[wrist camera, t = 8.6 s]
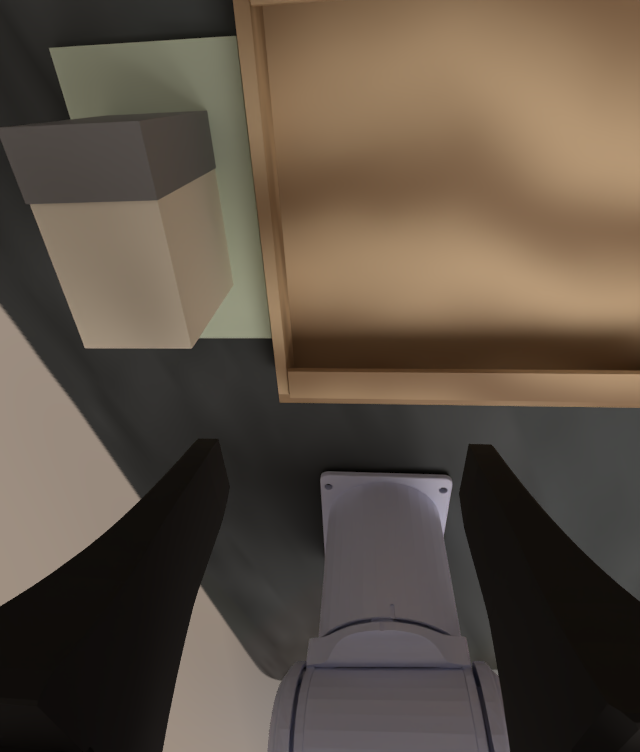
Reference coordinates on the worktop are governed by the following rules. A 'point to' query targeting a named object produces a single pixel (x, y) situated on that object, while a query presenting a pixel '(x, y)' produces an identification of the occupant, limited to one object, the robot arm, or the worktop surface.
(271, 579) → the worktop surface
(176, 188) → the box
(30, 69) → the worktop surface
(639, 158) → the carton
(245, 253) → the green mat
